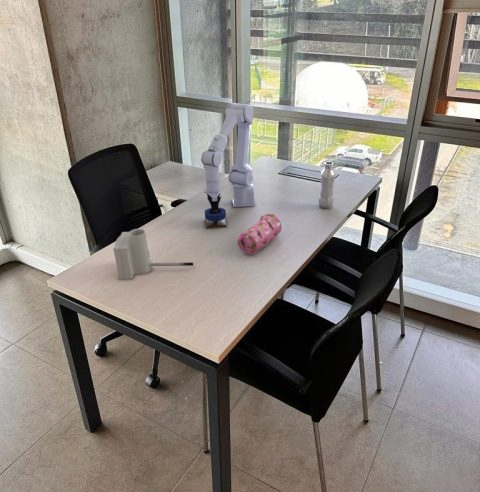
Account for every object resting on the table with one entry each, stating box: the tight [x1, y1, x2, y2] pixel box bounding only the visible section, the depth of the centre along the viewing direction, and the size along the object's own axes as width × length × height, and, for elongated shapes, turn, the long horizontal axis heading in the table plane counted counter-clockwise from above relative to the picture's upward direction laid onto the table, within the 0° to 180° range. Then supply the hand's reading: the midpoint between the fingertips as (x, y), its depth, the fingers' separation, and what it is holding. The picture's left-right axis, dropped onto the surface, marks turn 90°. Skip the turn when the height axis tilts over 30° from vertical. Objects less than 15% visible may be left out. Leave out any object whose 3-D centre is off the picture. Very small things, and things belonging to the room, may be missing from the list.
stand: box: [205, 210, 227, 229], centre depth 191 cm, size 8×8×6 cm
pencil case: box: [237, 213, 283, 256], centre depth 174 cm, size 21×9×9 cm, turn 150°
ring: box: [204, 206, 227, 221], centre depth 191 cm, size 9×9×2 cm
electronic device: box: [113, 228, 194, 280], centre depth 158 cm, size 12×26×15 cm, turn 88°
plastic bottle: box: [318, 161, 336, 209], centre depth 199 cm, size 6×7×20 cm
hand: (214, 210), depth 193 cm, fingers closed on ring, 2 cm apart
